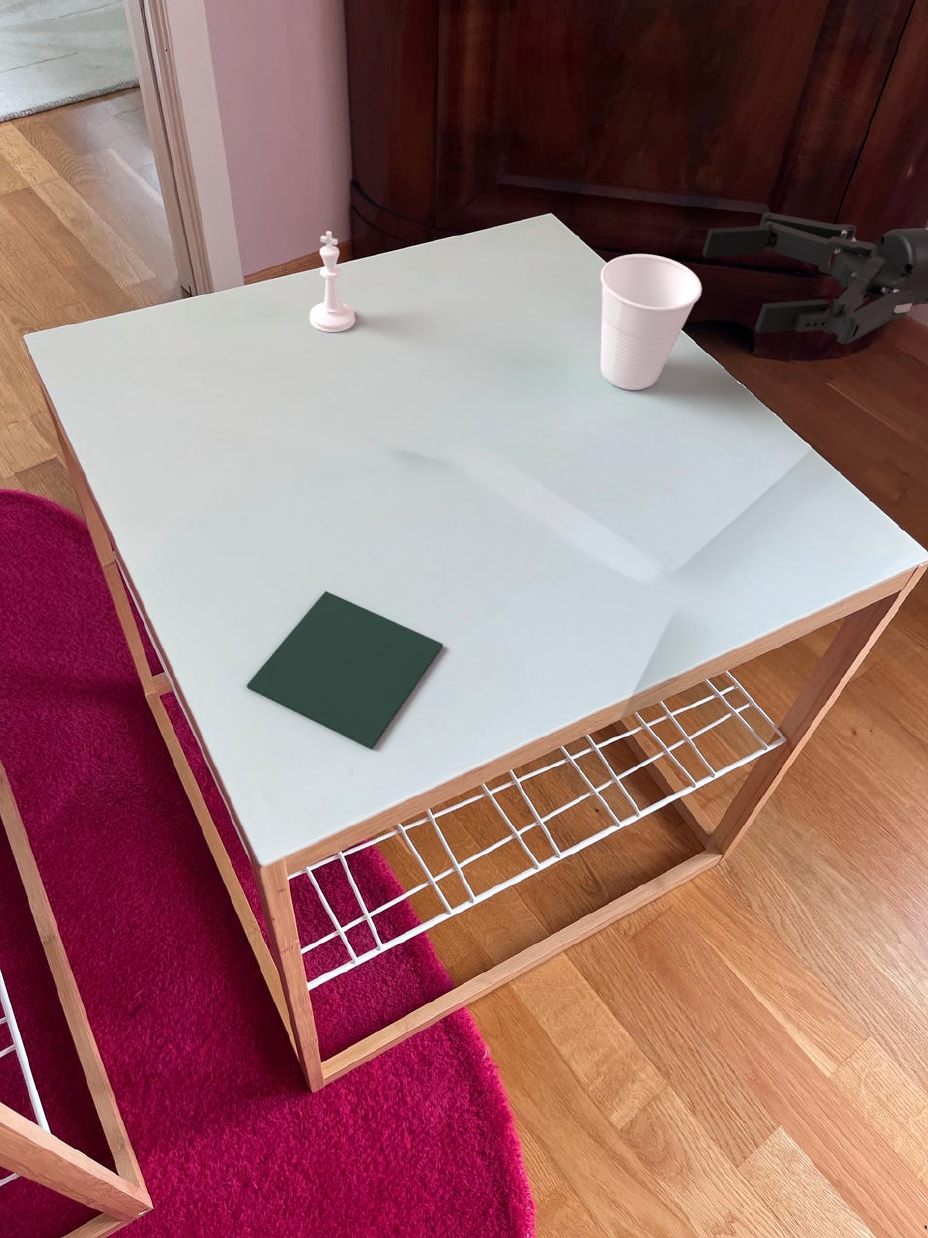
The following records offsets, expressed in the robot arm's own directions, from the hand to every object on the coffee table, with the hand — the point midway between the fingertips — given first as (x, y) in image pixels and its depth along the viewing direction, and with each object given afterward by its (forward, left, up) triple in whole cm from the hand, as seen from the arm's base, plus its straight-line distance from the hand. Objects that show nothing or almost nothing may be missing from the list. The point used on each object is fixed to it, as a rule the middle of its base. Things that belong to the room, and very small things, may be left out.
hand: (732, 279), depth 94 cm
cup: (+7, +6, -11) cm, 14 cm away
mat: (+12, +53, -10) cm, 56 cm away
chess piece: (+38, +14, -11) cm, 42 cm away
